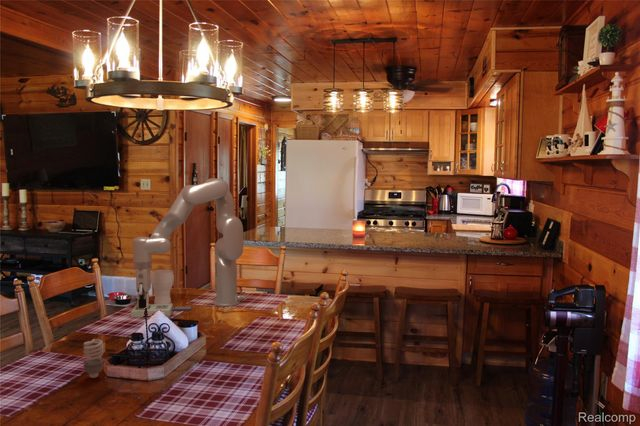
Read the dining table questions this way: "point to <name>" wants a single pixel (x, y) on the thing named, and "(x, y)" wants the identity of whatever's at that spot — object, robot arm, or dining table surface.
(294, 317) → the dining table surface
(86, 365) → the light bulb
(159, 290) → the cup
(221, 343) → the dining table surface
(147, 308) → the block
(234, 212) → the robot arm
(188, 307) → the phone
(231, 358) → the dining table surface
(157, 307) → the outlet board
